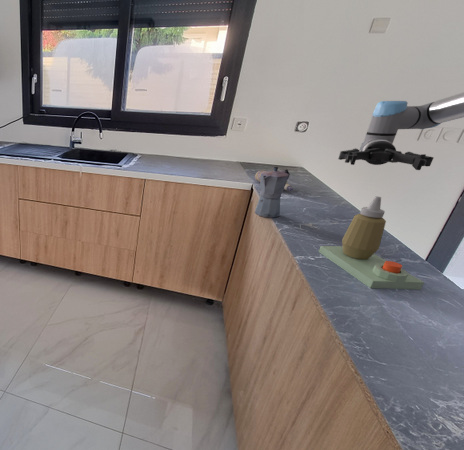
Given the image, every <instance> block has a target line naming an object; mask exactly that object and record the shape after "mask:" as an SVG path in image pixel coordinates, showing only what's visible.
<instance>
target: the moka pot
mask: <svg viewBox="0 0 464 450" xmlns="http://www.w3.org/2000/svg"><path fill="white" fill-rule="evenodd" d="M278 169H279V167H278V166H274V167H273V170H265V172H263V173H261V178H260V182H259V192H260V194H259V198H258V201H257V204H256V207H255V210H254V214H255V215H257V216H259V217H263V218H269V219H270V218H271V219H273V218H277V217H280V216H281V197H282V194H283V193H284V191H285V190H284V187H285V184H286V182H287V183H288V180H289V177H290V175H291V174H290V172H289V169H288V168H286V169H284V170H280V171H279V170H278Z"/></svg>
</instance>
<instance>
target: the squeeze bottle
mask: <svg viewBox="0 0 464 450" xmlns="http://www.w3.org/2000/svg"><path fill="white" fill-rule="evenodd" d="M381 204H382V197H381V196H375V197H374V198H373V199H372V200H371V202H370V203H369V205H368V206H363V207H362V208H361V210H360V212H359V213H358V214H355V215H354V216H353V218H352V220H351V221H350V223H349V226H348V227H347V229H346V232H345V233H344V235H343V237H342V238H341V239H342V240H341V244H342V245H341V246H343V253H344V254H345V255H348V256H350V257H353V258H357V259H369V258H370V257H371V256H372V255H373V254H375V253H376V252H378V251H379V249H380V246H381V243H382V238H383V234H384V231H385V228H386V227H385V226H386V223H387V221H386V219H385V218H384V215H385V214H386V213H385V210H384V209H381V207H382V206H381Z"/></svg>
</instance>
